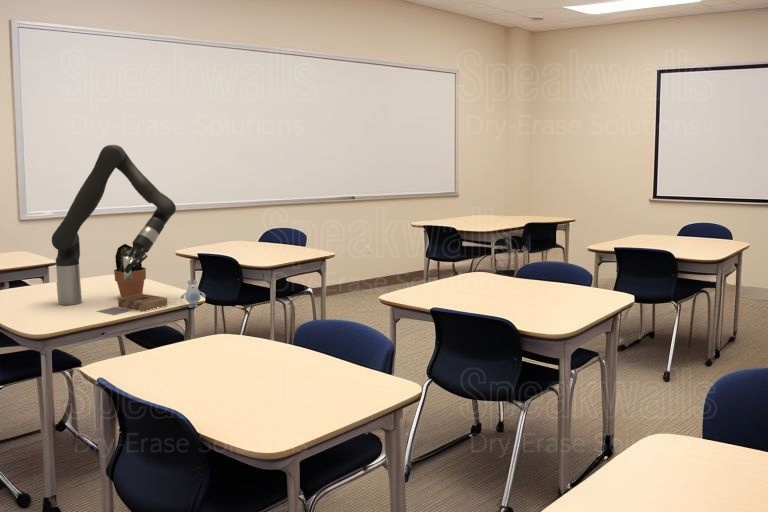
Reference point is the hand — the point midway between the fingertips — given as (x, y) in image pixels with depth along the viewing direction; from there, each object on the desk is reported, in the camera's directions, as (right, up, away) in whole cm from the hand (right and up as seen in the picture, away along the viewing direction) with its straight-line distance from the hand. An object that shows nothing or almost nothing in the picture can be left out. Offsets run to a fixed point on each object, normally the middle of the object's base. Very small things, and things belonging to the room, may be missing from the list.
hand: (123, 271), depth 286 cm
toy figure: (+27, -16, +9) cm, 32 cm away
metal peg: (+1, -4, +2) cm, 4 cm away
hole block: (+5, -16, +8) cm, 18 cm away
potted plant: (-7, -13, +28) cm, 32 cm away
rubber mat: (-4, -17, 0) cm, 17 cm away
